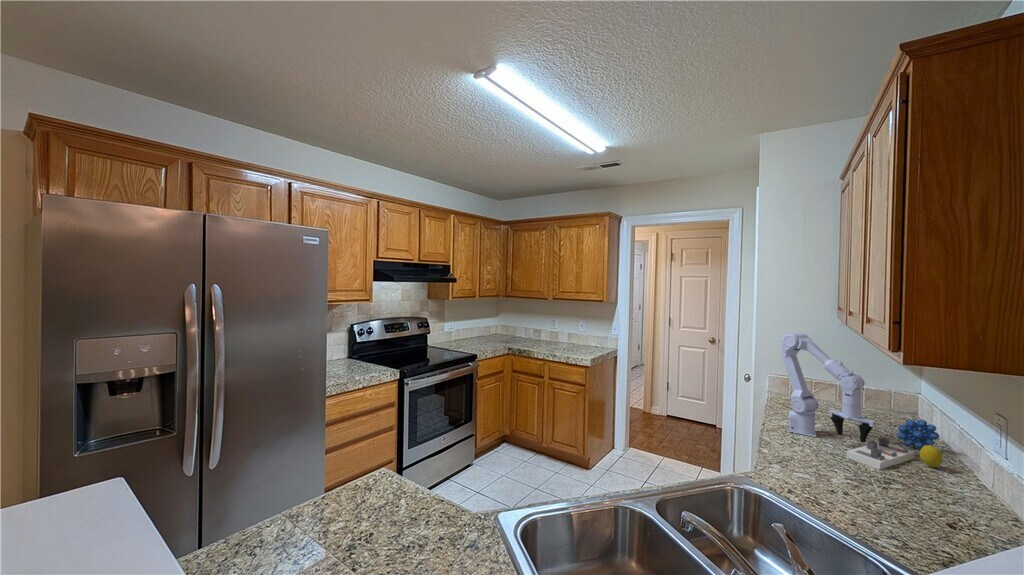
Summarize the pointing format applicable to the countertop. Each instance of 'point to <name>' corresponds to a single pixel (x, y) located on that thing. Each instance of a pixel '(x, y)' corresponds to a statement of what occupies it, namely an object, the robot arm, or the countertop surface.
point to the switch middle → (872, 444)
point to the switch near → (875, 453)
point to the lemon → (931, 456)
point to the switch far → (883, 441)
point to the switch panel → (887, 458)
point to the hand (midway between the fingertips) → (851, 438)
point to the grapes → (917, 433)
